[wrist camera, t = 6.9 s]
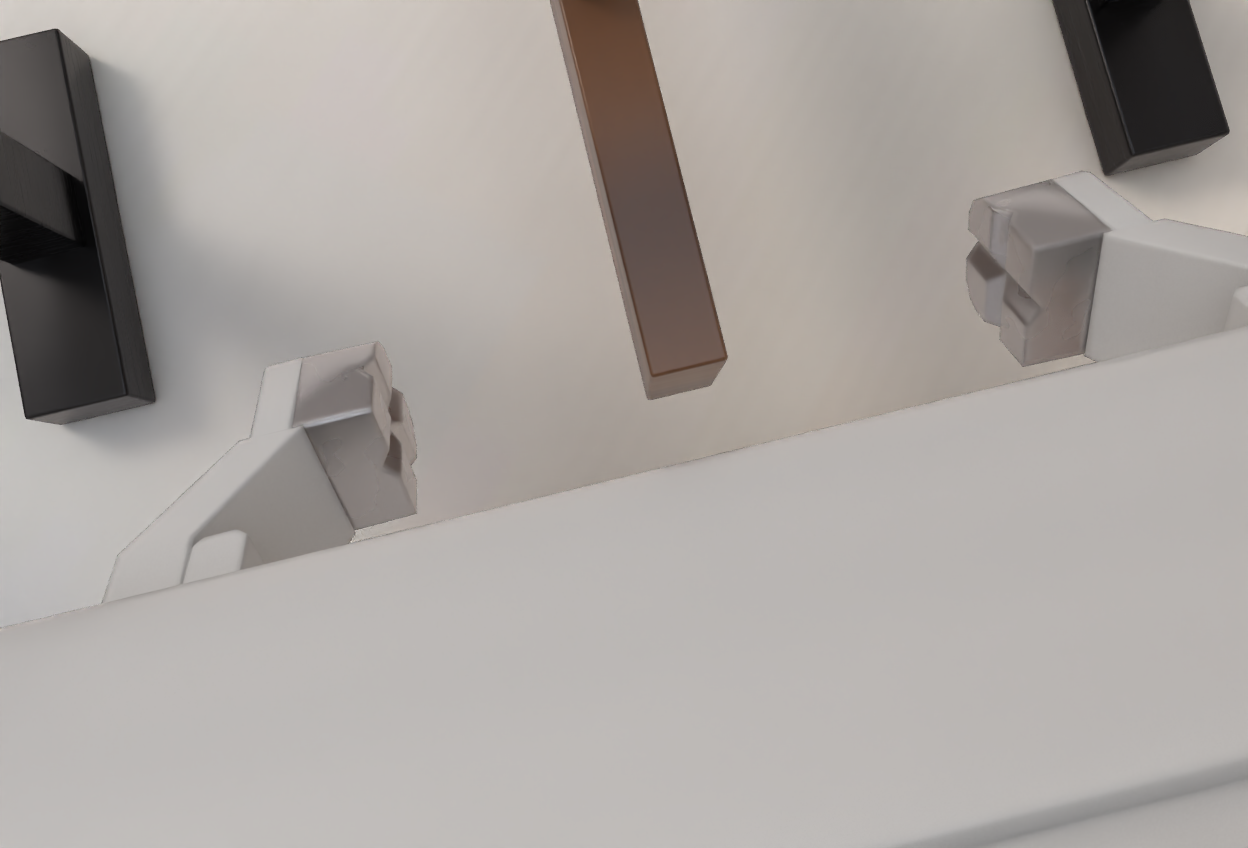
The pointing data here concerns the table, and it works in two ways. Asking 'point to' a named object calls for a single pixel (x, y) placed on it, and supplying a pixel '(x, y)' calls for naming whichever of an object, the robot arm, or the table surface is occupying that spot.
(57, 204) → the rail
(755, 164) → the table surface
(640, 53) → the hanger
